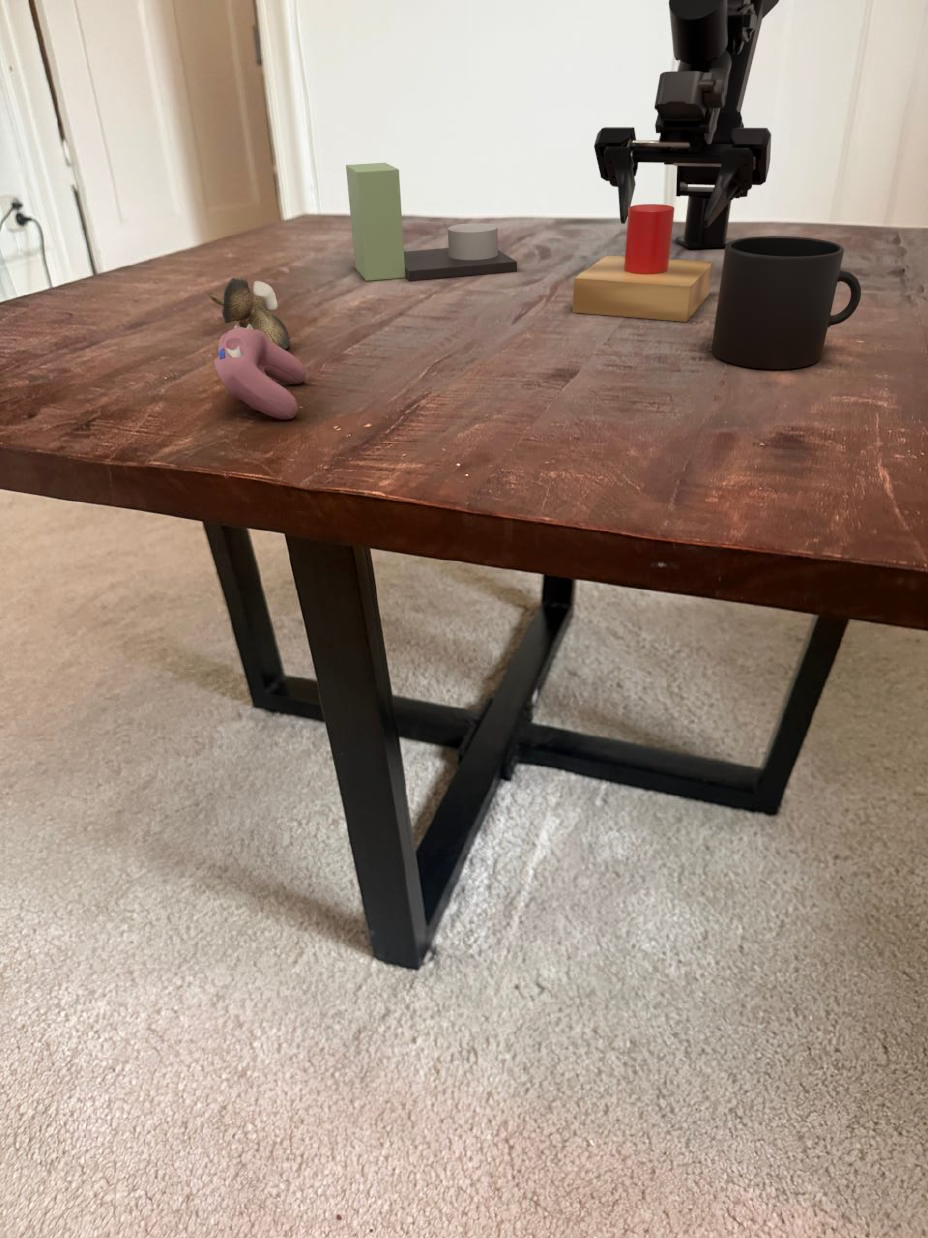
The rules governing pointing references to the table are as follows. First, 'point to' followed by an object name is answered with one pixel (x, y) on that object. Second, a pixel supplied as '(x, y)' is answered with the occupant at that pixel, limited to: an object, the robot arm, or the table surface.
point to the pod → (648, 238)
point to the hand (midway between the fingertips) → (663, 222)
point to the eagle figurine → (252, 309)
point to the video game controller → (258, 371)
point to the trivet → (642, 290)
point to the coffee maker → (383, 235)
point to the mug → (779, 300)
